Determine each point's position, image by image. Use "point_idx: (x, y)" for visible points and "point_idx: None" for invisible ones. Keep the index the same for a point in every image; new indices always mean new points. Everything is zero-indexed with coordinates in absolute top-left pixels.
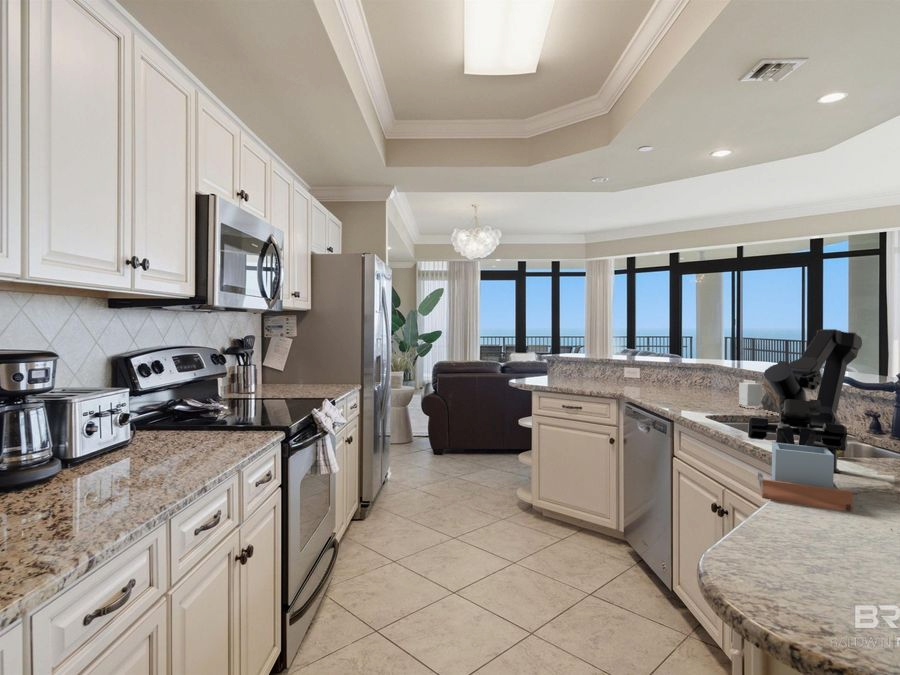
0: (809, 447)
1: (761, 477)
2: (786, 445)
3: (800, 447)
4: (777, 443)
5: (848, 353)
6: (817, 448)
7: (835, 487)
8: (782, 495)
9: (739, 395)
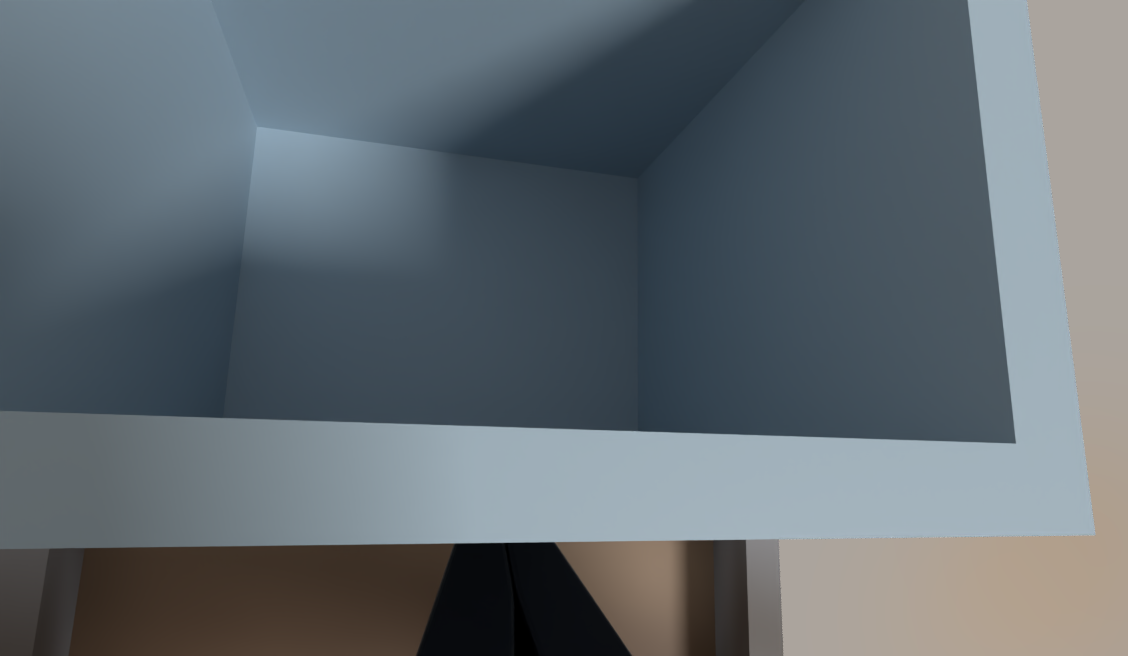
0: (303, 427)
1: (760, 553)
2: (825, 437)
3: (527, 436)
4: (1004, 453)
5: None
6: (66, 418)
7: (19, 556)
8: None
9: None
